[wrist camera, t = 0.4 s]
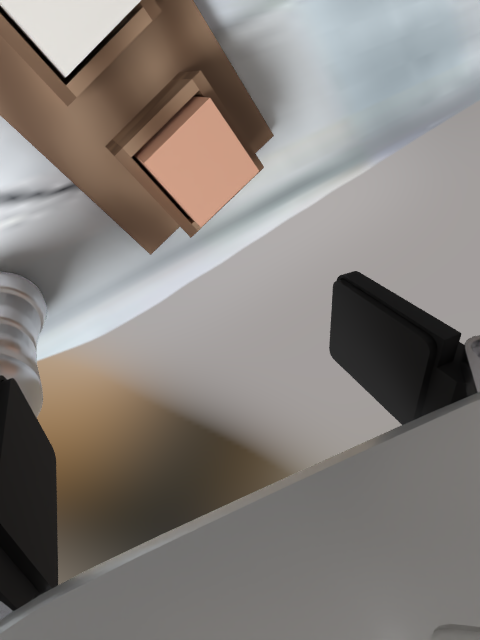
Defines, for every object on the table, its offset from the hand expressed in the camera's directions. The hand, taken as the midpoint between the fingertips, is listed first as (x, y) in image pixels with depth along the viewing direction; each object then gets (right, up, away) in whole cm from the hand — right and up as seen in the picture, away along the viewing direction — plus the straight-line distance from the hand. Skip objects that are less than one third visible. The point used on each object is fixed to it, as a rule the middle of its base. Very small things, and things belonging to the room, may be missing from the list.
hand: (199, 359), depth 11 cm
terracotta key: (-3, +14, +19) cm, 24 cm away
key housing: (-8, +20, +19) cm, 29 cm away
